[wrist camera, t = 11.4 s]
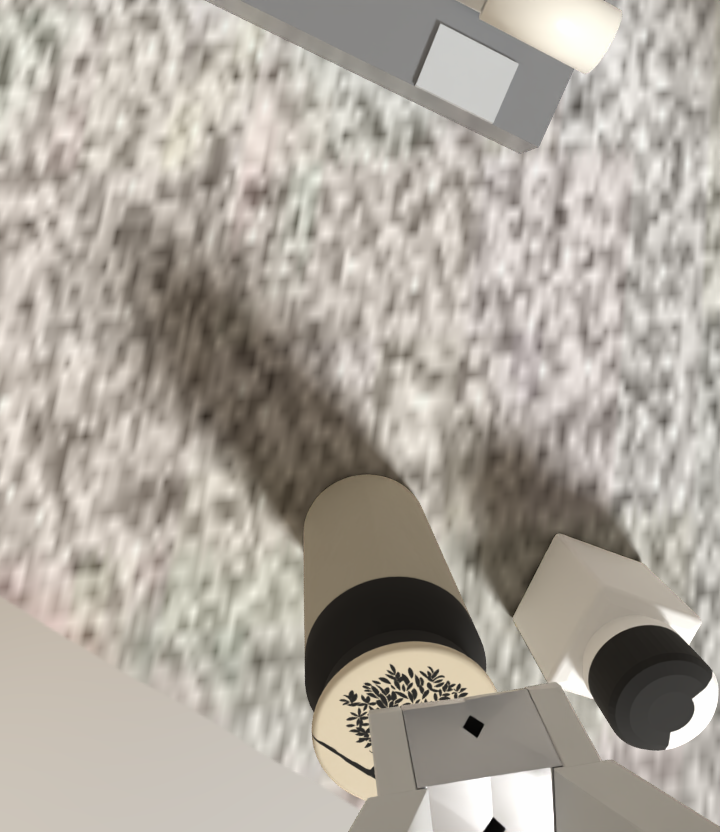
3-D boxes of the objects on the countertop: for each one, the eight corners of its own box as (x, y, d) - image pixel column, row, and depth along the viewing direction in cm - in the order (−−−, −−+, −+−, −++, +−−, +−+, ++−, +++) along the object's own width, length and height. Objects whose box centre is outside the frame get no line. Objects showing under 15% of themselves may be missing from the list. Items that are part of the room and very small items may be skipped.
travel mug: (370, 447, 41) (421, 601, 24) (449, 531, 43) (548, 729, 26) (277, 528, 42) (262, 732, 25) (359, 606, 44) (397, 845, 27)
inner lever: (545, -3, 32) (629, 11, 20) (523, 41, 33) (591, 78, 21) (472, -42, 31) (515, -52, 19) (452, 3, 32) (482, 20, 21)
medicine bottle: (509, 618, 46) (580, 749, 34) (555, 530, 44) (645, 635, 32) (597, 648, 47) (695, 783, 35) (645, 562, 45) (762, 674, 34)
